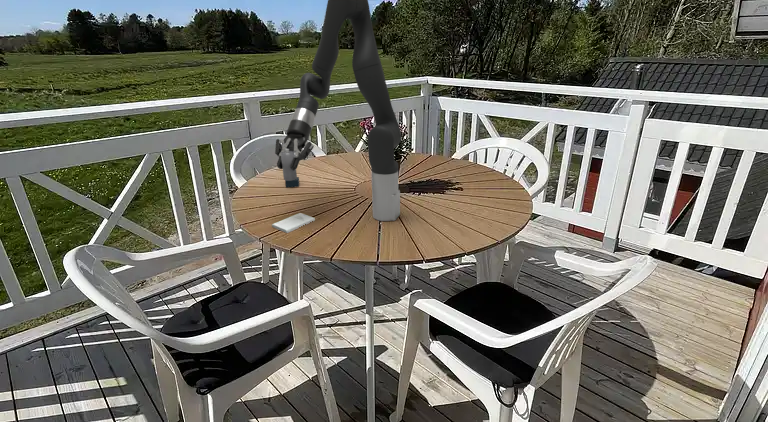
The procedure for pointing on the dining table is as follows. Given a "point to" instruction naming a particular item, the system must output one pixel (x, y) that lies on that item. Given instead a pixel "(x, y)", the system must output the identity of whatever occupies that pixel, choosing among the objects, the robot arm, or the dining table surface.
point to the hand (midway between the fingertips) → (286, 168)
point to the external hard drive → (293, 222)
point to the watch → (292, 183)
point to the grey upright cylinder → (288, 165)
